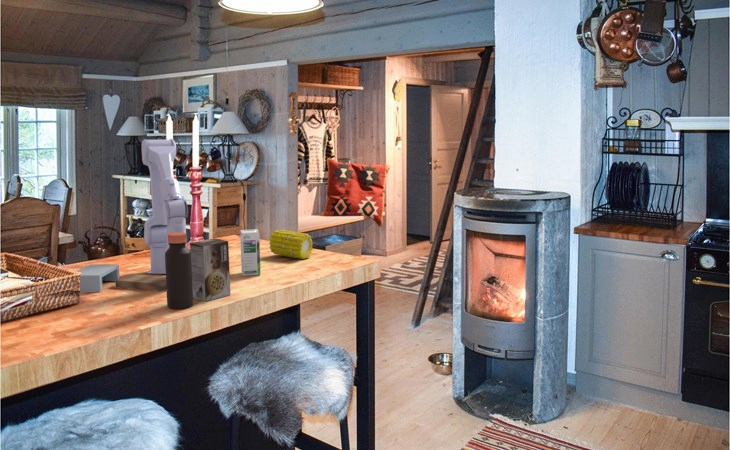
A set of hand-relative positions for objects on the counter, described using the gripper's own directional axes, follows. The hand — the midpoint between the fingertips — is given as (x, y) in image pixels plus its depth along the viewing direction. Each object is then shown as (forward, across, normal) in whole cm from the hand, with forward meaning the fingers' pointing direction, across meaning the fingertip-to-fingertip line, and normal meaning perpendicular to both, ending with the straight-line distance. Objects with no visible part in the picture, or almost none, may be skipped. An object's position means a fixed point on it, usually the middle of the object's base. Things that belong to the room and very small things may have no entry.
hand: (178, 283), depth 198 cm
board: (+1, 0, -10) cm, 10 cm away
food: (+1, -43, +29) cm, 52 cm away
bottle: (+1, +21, +7) cm, 22 cm away
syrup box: (+1, -17, +19) cm, 25 cm away
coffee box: (+1, +11, +13) cm, 17 cm away
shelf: (+1, 0, -25) cm, 25 cm away
